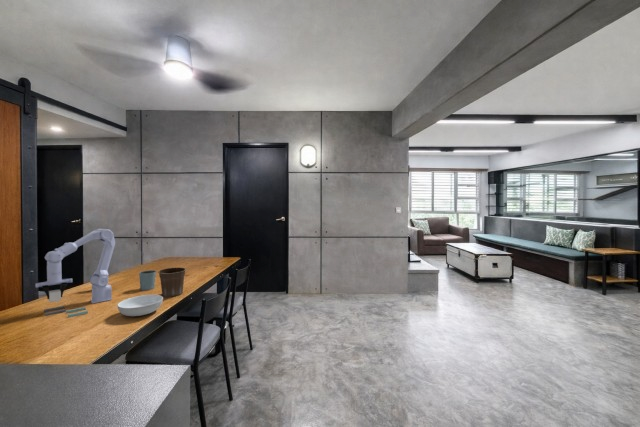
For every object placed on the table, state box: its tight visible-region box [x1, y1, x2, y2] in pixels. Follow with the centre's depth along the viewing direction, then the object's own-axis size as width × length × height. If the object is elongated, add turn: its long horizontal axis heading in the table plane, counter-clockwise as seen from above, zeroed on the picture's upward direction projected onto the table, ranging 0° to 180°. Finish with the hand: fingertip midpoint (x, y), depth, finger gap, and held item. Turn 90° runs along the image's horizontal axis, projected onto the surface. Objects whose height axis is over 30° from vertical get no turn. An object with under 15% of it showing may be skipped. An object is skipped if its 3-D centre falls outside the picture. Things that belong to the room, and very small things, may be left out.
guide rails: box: [43, 305, 89, 318], centre depth 150 cm, size 16×20×1 cm
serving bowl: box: [117, 294, 164, 317], centre depth 150 cm, size 21×21×7 cm
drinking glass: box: [138, 269, 157, 291], centre depth 194 cm, size 10×10×12 cm
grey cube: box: [48, 289, 62, 304], centre depth 151 cm, size 4×5×5 cm
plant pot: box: [157, 267, 187, 298], centre depth 182 cm, size 16×16×16 cm
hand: (54, 297), depth 151 cm, fingers closed on grey cube, 4 cm apart
